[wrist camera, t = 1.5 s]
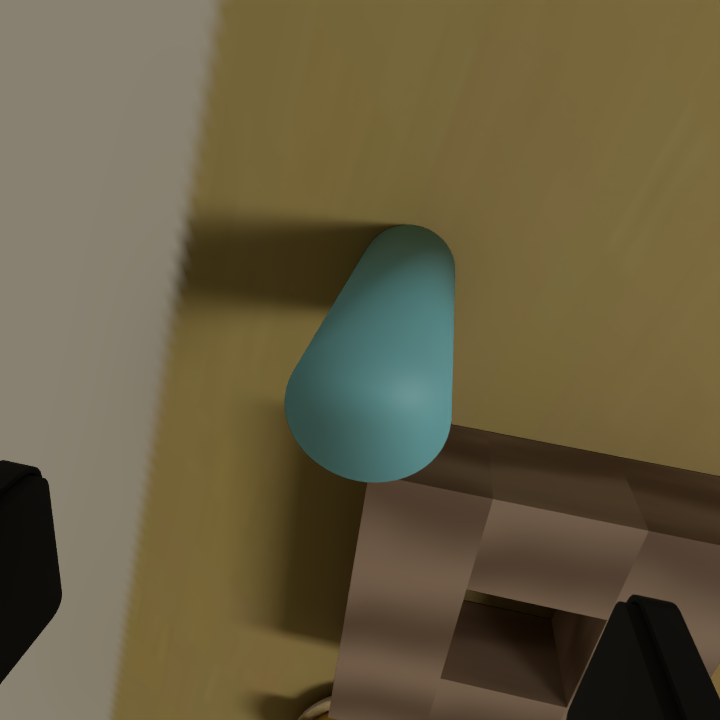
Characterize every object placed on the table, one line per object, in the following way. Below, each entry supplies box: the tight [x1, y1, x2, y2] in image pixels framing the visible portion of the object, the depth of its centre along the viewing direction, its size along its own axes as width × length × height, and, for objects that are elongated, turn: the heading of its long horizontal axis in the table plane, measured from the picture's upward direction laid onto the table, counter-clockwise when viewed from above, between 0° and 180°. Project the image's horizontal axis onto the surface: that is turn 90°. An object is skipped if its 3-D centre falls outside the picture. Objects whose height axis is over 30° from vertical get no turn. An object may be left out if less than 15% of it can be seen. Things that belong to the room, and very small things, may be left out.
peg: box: [285, 225, 455, 483], centre depth 19 cm, size 4×4×12 cm
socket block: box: [328, 425, 720, 720], centre depth 28 cm, size 16×16×5 cm
